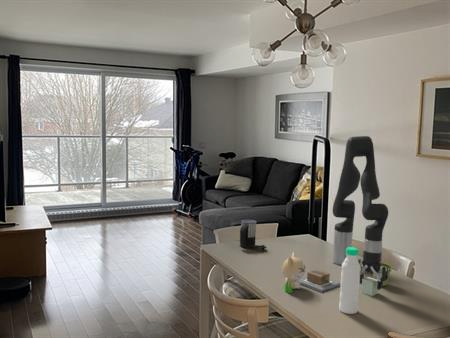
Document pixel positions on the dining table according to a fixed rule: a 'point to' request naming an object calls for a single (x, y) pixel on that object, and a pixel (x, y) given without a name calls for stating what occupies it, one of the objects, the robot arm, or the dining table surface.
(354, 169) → the robot arm
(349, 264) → the water bottle
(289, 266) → the kitten
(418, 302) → the dining table surface
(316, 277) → the walnut base block
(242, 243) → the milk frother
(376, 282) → the sage block
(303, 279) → the plate
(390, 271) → the plant pot
